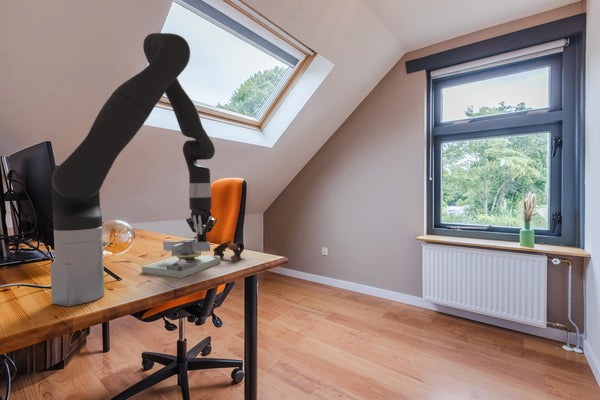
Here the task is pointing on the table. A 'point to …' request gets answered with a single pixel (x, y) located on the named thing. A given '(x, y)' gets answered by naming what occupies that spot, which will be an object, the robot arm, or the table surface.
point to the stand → (173, 270)
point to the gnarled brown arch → (221, 248)
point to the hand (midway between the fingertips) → (202, 244)
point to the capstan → (186, 248)
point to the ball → (181, 262)
